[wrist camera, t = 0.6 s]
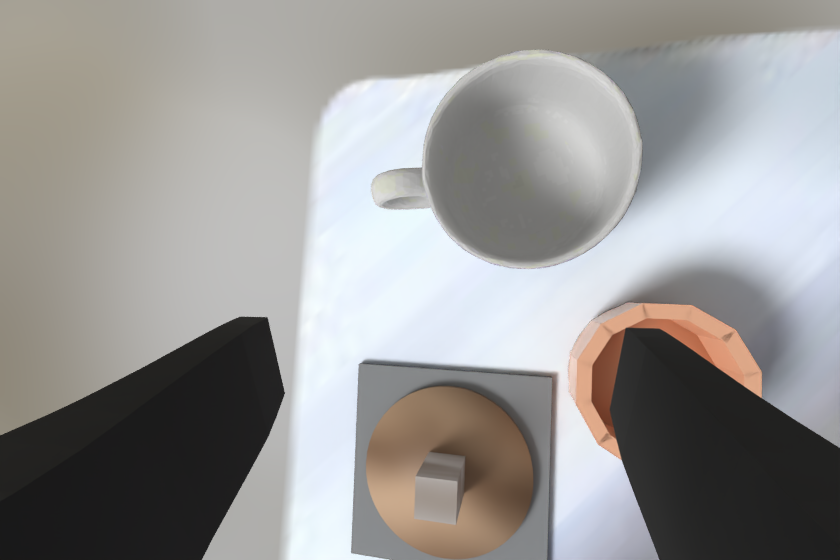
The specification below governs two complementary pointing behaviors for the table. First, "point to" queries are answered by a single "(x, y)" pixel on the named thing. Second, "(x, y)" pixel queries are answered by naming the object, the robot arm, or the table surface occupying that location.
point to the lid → (449, 472)
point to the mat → (512, 392)
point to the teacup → (525, 160)
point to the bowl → (602, 349)
